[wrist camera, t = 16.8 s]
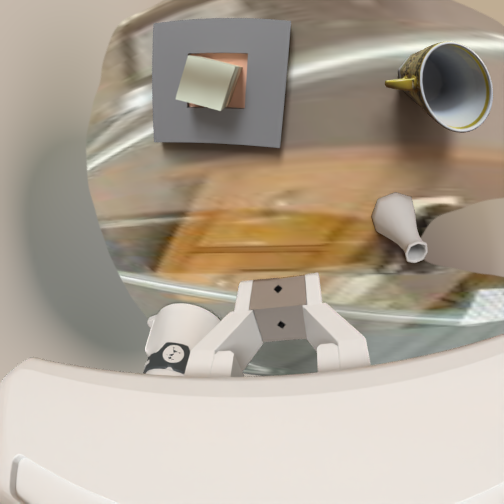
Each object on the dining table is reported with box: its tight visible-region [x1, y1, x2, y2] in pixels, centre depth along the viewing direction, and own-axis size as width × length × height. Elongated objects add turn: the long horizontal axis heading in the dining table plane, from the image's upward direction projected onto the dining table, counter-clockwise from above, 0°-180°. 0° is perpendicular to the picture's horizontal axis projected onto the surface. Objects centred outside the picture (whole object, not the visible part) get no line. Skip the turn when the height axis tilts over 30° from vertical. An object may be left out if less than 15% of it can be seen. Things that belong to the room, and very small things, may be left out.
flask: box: [372, 192, 428, 263], centre depth 36 cm, size 7×7×10 cm
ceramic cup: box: [385, 41, 493, 133], centre depth 24 cm, size 13×10×10 cm
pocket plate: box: [152, 18, 291, 148], centre depth 31 cm, size 16×16×2 cm
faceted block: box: [176, 55, 242, 111], centre depth 28 cm, size 5×5×6 cm
